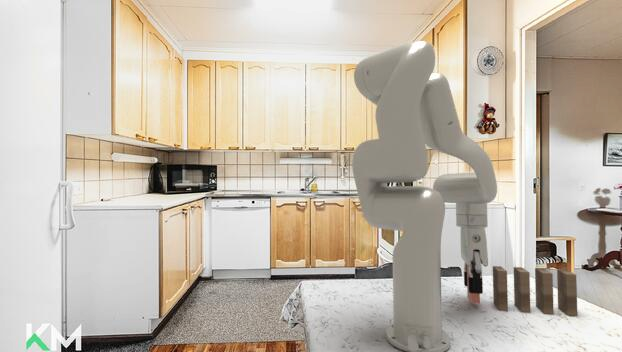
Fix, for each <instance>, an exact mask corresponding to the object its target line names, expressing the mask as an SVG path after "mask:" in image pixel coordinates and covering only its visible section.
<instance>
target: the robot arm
mask: <svg viewBox="0 0 622 352" xmlns="http://www.w3.org/2000/svg"><path fill="white" fill-rule="evenodd" d="M435 65H436V54H435V49H434V47H433V45H432V43H430V42H428V41H425V40H417V41H411V42H407V43H404V44H400V45H398V46H395V47H393V48H390V49H387V50H385V51H382V52H379V53H377V54H374V55H371V56H369V57H366V58H363V59H361V61H359V62H358V63H357V65H356V66H355V69H354V72H353V81H354V84H355V87H356V89H357V90H358V92H359V93H360V94H361V95H362V97H364V98H365V99H366V100H368V101H369V102H371V103H372V104H374V105H376V109H375V117H374V118H375V125H376V130H377V136H378V138H375V139H368V140H365V141H362V142H361V143H359V144H358V146H357V147H355V150H354V153H353V156H352V161H351V167H352V168H351V169H352V175H353V179H354V183H355V187H356V192H357V195H358V200H359V204H360V208H361V212H362V215H363V217H364V219H365V221H366V223H367V224H368V225H370V226H371V227H373V228H376V229H381V230H389V231H391V230H392V231H398V232H402V234H401V236H400V238H399V239H398V240H397V242H396V244H395V245H394V248H393V250H392V299H393V300H392V302H393V303H392V305H393V306H392V308H393V315H392V316H393V318H392V319H393V323H392V324H391V325H389V326H388V327H387V328H386V330H385V337H386V340H387V341H388V343H390V344H391V345H392V346H393V347H395V348H396V349H398V350H402V351H404V352H446V351H447V350H449V349H450V347H451V337H450V335H449V334H448V333H447V332H446V331H445V330H443V323H442V321H443V317H442V316H443V315H442V312H443V311H442V270H441V268H442V261H441V257H442V256H441V253H442V252H441V250H442V249H441V248H442V247H441V246H442V233H443V226H444V219H445V215H446V203H447V204H455V221H456V222H455V223H456V224H455V226H456V227H459V228H460V232H459V233H460V241H459V242H460V257H461V259H462V261H463V263H464V264H463V265H464V266H463V269H464V271H463V279H464V280H463V284H464V286H465V287H467V265H469V274H470V277H468V283H469V292H470V293H476V294H480V295H483V292H484V289H483V288H484V287H483V284H484V283H483V267H485V268H486V267H488V266H489V256H488V243H487V242H488V241H487V234H486V228H488V227H489V225H488V223H489V222H488V204H490V203H491V202H493V201H494V200H495V199H496V197H497V194H498V183H497V177H496V174H495V170H494V165H493V162H492V160H491V157H490V156H489V155H488V154H489V153H487V152H486V151H485V150H484V148H482V147H481V145H479V144H478V143H477V142H476V141H475V140H473V139H472V137H469V136H467V135H466V134H465V133H464V132H463V130H462V127H461V124H460V119H459V116H458V112H457V108H456V105H455V101H454V98H453V95H452V91H451V86H450V84H449V81H448V79H447V77H446V76H445V75H444V74H442V73H439V72H434V70H435ZM426 146H427V147H428V148H429V149H432V150H435V151H437V152H441V153H442V154H446V155H449V156H451V157H453V158H457V159H459V160H461V161H463V162H464V163H466V164H467V165H468V166H469V167H470V168H471V169H472V170H473V172H457V173H444V174H441V175H439V176H437V177H436V179H435V180H434V182H433V184H432V185H433V186H432V187H427V186H421V185H420V186H418V185H414V186H413V185H411V186H410V185H408V186H407V185H406V186H405V185H401V186H399V185H398V186H389V185H388V184H392V183H394V184H396V183H398V184H399V183H413V182H417V181H421V180H422V179H424V178H425V176H426V175H427V173H428V169H429V159H428V151H427V148H426ZM471 263H475V265H471ZM482 266H483V267H482ZM472 268H475V269H473V272H472Z"/></svg>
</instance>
